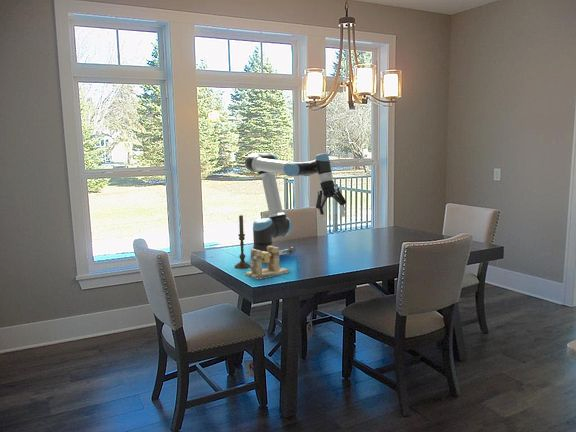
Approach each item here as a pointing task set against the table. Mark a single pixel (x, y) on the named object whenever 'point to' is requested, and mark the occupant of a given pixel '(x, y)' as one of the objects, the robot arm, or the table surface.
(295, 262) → the table surface
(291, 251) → the shaft
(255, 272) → the shaft stand
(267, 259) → the spacer
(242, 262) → the candlestick holder
